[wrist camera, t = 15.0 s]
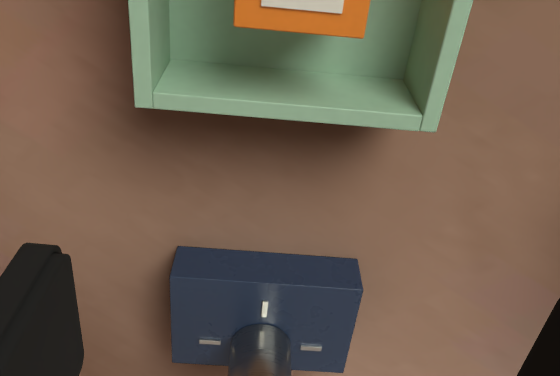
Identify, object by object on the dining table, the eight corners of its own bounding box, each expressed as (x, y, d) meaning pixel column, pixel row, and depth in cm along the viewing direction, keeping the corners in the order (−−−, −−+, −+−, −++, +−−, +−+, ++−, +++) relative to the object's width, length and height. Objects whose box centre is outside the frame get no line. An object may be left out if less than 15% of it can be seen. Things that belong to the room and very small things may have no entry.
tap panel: (357, 258, 35) (364, 291, 32) (335, 354, 40) (339, 389, 37) (177, 245, 34) (168, 278, 31) (179, 344, 39) (171, 379, 37)
